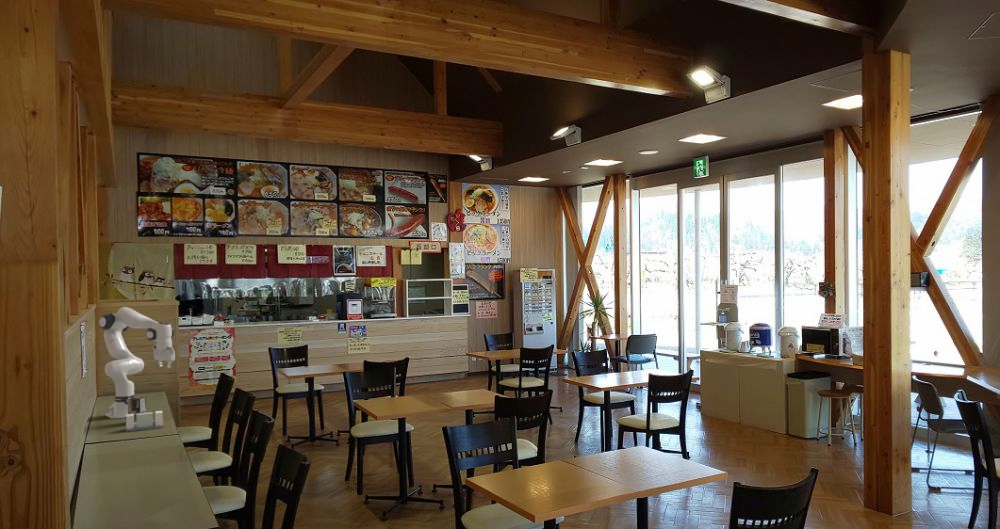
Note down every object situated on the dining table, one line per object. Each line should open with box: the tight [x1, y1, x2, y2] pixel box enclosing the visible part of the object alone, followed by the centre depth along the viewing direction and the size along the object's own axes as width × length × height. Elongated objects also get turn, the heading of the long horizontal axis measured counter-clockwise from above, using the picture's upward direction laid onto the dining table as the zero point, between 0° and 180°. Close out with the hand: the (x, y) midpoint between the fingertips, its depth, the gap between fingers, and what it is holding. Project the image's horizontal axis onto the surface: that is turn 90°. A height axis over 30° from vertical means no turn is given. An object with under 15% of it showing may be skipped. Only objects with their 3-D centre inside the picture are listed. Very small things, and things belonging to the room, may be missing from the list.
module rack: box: [125, 410, 165, 433], centre depth 422 cm, size 9×21×10 cm, turn 118°
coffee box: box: [127, 396, 147, 423], centre depth 439 cm, size 9×6×16 cm
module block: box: [137, 411, 154, 428], centre depth 422 cm, size 4×9×8 cm, turn 118°
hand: (164, 367), depth 445 cm, fingers open, 8 cm apart
